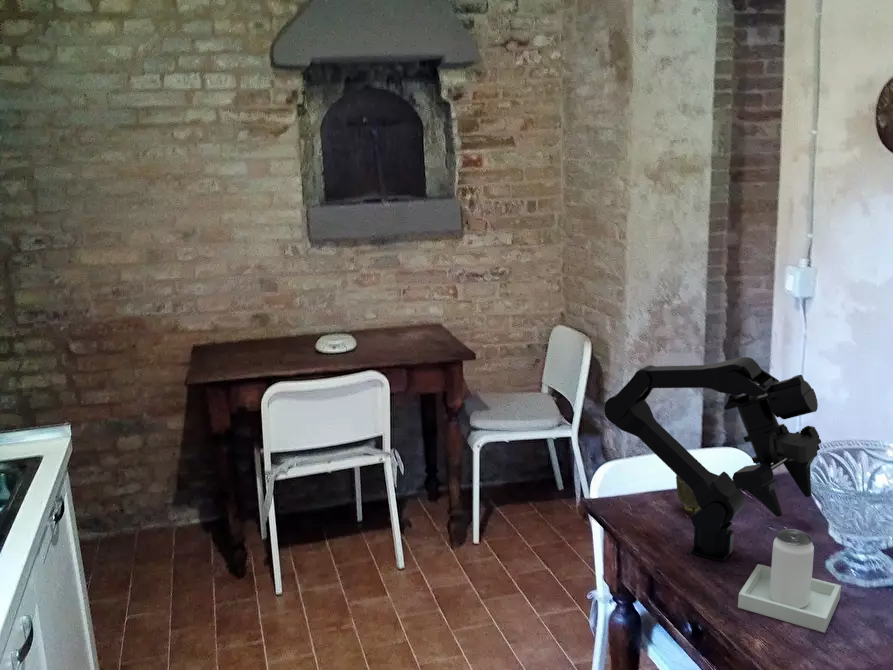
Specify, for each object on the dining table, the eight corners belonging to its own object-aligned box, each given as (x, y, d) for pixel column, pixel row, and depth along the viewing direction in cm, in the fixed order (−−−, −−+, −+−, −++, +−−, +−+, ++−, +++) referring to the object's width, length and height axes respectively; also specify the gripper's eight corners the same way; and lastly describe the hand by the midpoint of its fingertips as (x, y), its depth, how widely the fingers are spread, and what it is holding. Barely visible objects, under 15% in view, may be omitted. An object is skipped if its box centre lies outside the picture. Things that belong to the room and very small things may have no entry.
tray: (737, 607, 145) (738, 593, 144) (757, 576, 154) (758, 563, 154) (824, 632, 137) (826, 618, 136) (839, 598, 147) (840, 585, 146)
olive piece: (668, 512, 181) (669, 478, 179) (683, 500, 186) (685, 467, 184) (701, 522, 176) (703, 486, 174) (716, 509, 181) (718, 475, 179)
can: (807, 592, 148) (813, 530, 145) (811, 612, 142) (816, 548, 139) (768, 587, 150) (772, 525, 147) (770, 607, 144) (774, 543, 141)
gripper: (767, 437, 141) (803, 524, 140) (828, 401, 151) (861, 483, 150) (716, 445, 150) (749, 527, 149) (777, 411, 160) (808, 488, 159)
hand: (794, 506), depth 152 cm, fingers open, 9 cm apart
